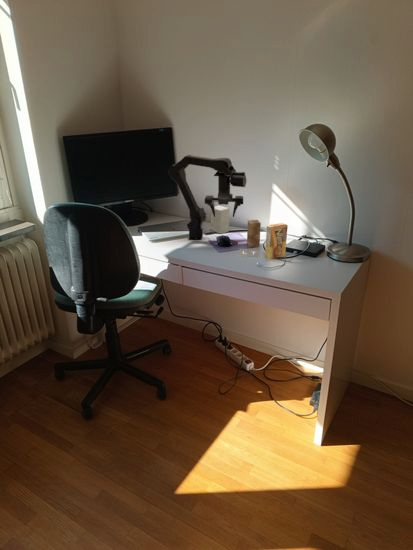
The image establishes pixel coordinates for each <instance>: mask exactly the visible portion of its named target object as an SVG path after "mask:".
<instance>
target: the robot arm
mask: <svg viewBox="0 0 413 550" xmlns="http://www.w3.org/2000/svg"><path fill="white" fill-rule="evenodd" d="M232 163H233V162H232V160H231V159H230V158H228V157H221V158H220V157H219V158H212V157H211V158H210V157H202V156H197V155H191V154H187V155H185V156H183V158H181V159H180V160H179V161H178V162H177V163H174V164H172V165H170V166H169V167H168V171H167V172H168V174H169V176H170V178H171V179H172V181H174V182H175V183H176V184H177V186H178V189H179V190H180V193H181V195H182V196H183V199H184V201H185V204H186V205H187V208H188V209H189V218H190V221H189V222H188V223H187V224H186V226H187V229H188V241H190V240H192V241H193V240H194V241H195V240H196V241H197V240H198V241H202V238H203V236H204V232H203V231H204V229H203V226H202V225H203V223H204V222H206V220H207V212H205V209H204V207H199V205H198V204H197V203H198V202H197V201H196V199H195V196H194V194H193V192H192V190H191V188H190V186H189V184H188V182H187V181H188V180H187V176H186V175H187V174H186V170H185V169H186V168H188V166H190V165H191V166H196V167H205V168H210V169H212V170H214V171H216V172H215V174H213V176H214V177H218V178H217V179H218V180H217V181H218V183H217V185H218V186H217V188H218V190H217V191H218V193H217V197H214V195H206V196H205V197H204V204H206V205H207V206H209V207H210V210H211V209H212V212H213V215H214V217H215V206H216V205H215V202H216V203H218V206H219V205H220V206H222V205H225V206H226V205H227V206H228V205H229V203H234V204H233V205H234V206H233V211H232V212H233V213H232V218H234V217H235V214H236V212H237V209H238V207H241V205H244V196H243V195H235V197H233V193H231V187H236V188H238V187H239V188H245V187H246V184H247V176H246V172H244V171H241V172H240V171H237V170H236V169H235V167H234V166H233V164H232Z"/></svg>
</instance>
